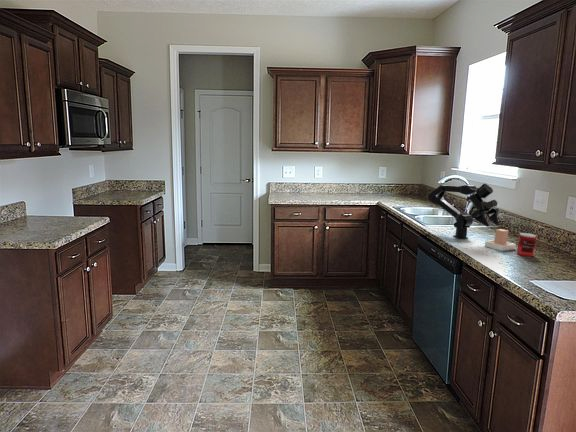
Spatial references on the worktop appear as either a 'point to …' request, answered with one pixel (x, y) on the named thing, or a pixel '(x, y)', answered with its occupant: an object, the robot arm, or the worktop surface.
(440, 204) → the robot arm
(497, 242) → the terracotta block
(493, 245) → the tray
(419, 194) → the worktop surface
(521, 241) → the canned food
